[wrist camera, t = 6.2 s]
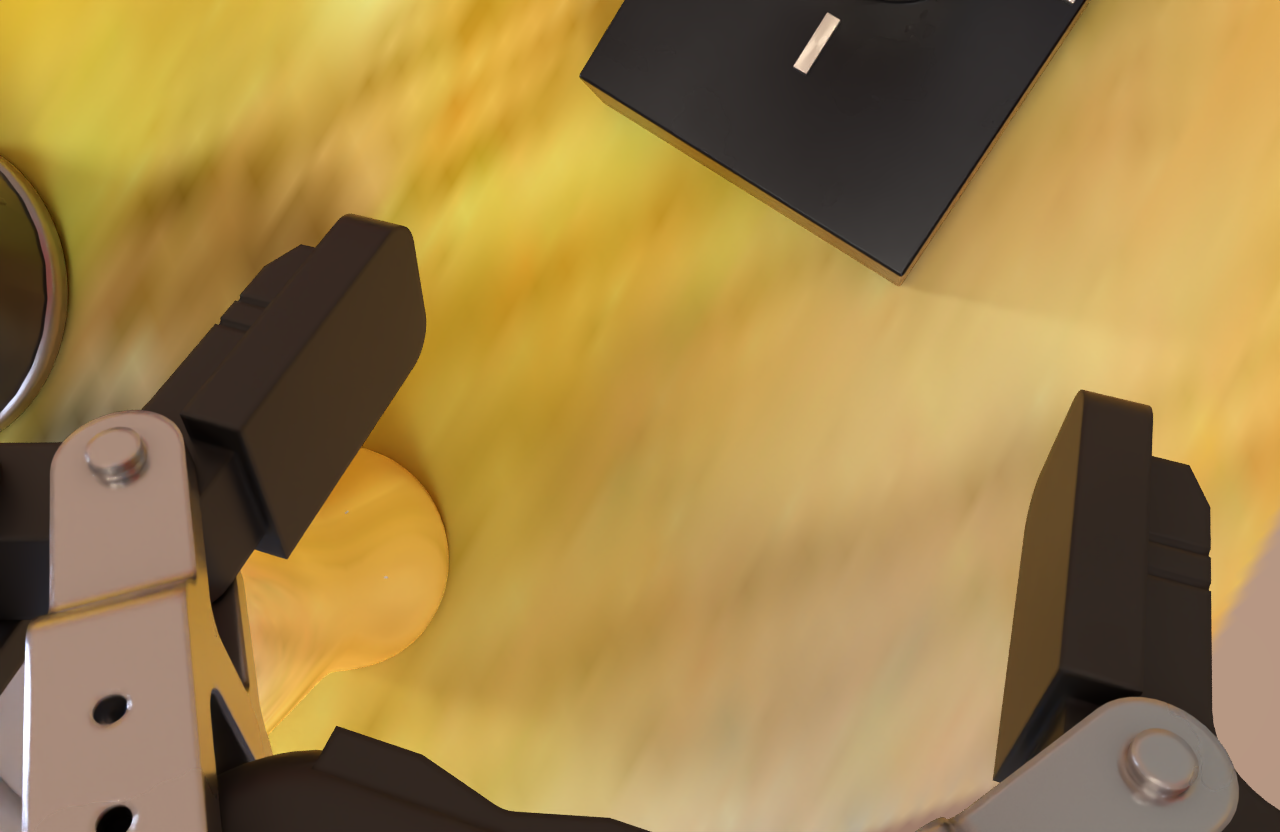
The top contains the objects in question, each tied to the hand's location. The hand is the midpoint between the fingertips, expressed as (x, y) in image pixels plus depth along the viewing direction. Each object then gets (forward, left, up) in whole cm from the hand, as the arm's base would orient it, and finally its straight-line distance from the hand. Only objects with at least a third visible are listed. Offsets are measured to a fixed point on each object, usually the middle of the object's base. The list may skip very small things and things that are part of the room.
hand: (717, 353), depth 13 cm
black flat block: (+9, +4, -15) cm, 18 cm away
